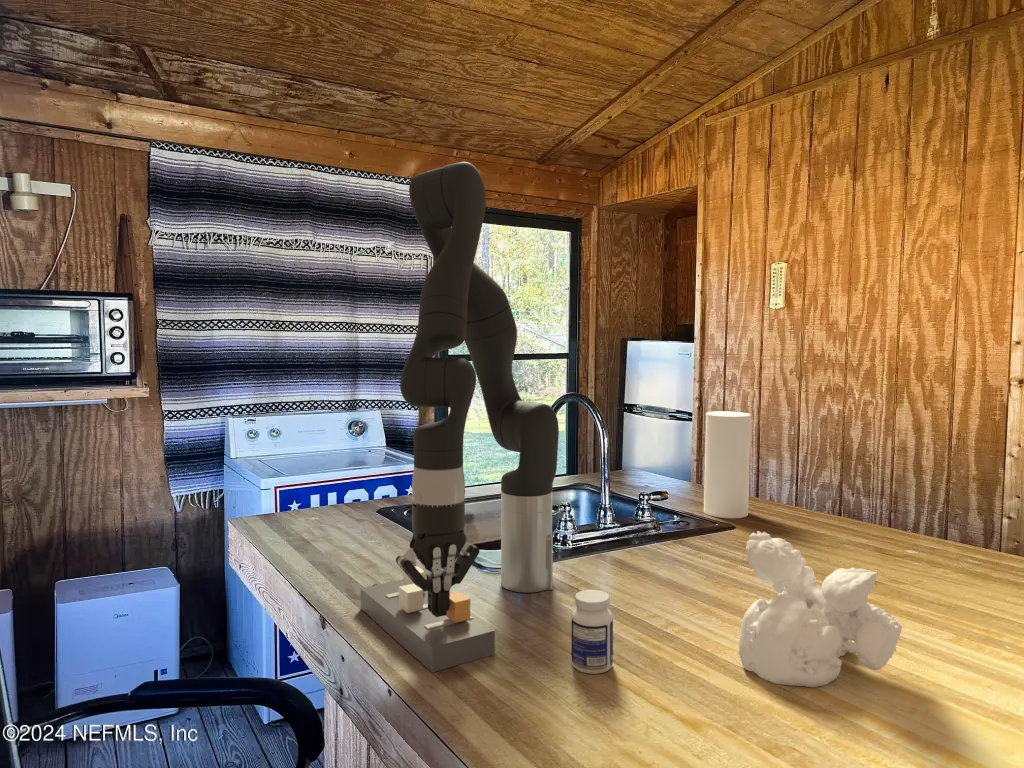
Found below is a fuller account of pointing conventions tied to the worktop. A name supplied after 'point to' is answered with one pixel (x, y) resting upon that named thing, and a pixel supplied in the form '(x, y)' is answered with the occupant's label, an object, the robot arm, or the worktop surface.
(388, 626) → the slider control box
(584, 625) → the pill bottle
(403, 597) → the switch
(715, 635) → the worktop surface
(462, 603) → the switch
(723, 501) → the tall pillar cylinder
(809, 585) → the white plaster sculpture
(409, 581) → the switch
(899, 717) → the worktop surface
